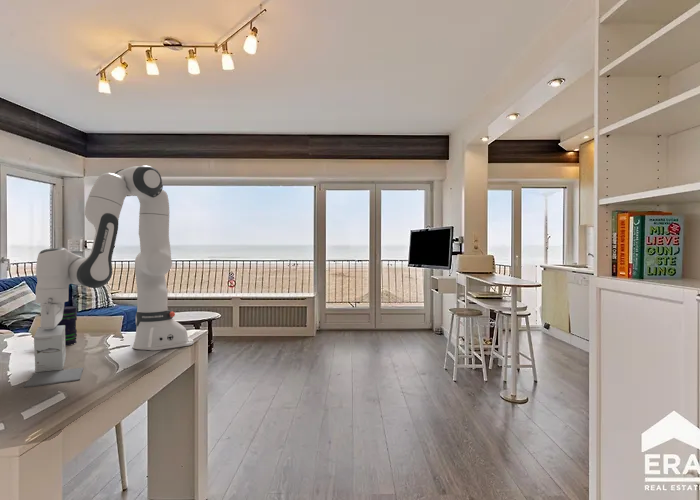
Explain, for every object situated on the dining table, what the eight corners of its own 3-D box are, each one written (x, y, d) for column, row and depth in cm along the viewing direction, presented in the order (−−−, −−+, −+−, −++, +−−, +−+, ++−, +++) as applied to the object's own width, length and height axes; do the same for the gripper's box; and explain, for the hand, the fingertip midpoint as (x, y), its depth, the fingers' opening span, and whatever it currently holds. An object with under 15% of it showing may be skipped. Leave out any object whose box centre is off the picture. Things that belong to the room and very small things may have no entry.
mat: (83, 368, 133) (83, 367, 133) (79, 380, 121) (79, 379, 121) (33, 374, 127) (33, 373, 127) (24, 387, 115) (24, 386, 115)
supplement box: (34, 373, 128) (32, 336, 125) (39, 361, 135) (37, 326, 131) (63, 370, 132) (61, 334, 129) (66, 358, 138) (65, 324, 135)
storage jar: (71, 340, 176) (71, 305, 176) (81, 343, 170) (81, 307, 171) (43, 344, 168) (43, 308, 168) (52, 347, 162) (53, 310, 163)
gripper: (59, 299, 128) (59, 343, 128) (67, 293, 146) (66, 332, 146) (34, 300, 125) (34, 346, 125) (45, 294, 143) (44, 334, 143)
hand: (51, 338), depth 136 cm, fingers closed
